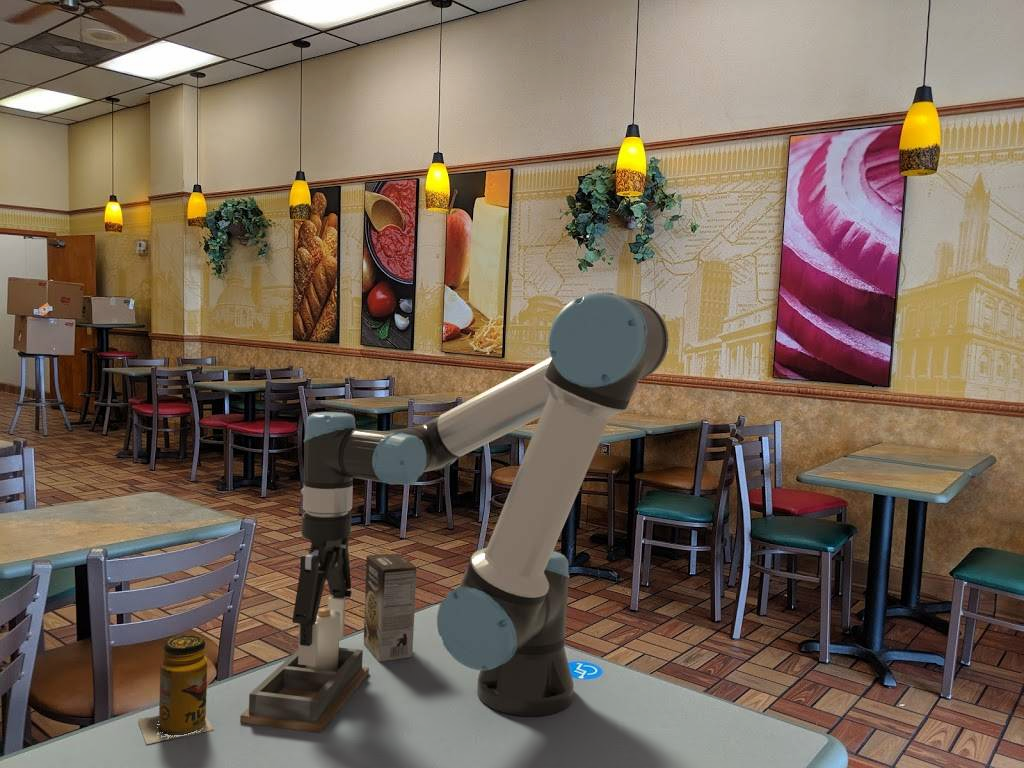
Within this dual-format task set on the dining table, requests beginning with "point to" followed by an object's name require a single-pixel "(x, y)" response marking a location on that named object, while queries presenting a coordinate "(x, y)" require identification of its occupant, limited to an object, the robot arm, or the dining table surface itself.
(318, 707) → the grey wooden tray
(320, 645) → the cylinder
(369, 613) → the coffee box
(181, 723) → the condiment
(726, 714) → the dining table surface
